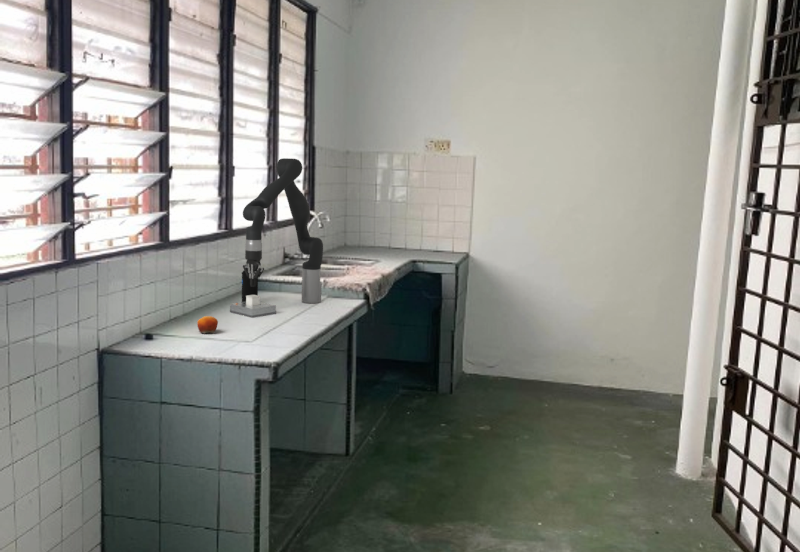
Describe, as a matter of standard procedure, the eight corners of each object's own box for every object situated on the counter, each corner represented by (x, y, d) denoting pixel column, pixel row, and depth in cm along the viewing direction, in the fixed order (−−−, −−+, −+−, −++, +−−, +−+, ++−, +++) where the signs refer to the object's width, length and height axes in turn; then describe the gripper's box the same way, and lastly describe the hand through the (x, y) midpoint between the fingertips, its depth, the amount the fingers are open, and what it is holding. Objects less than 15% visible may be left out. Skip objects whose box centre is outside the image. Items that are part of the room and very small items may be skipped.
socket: (253, 308, 346) (253, 299, 345) (275, 313, 336) (276, 304, 335) (229, 312, 335) (229, 302, 334) (252, 317, 325) (252, 307, 325)
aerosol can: (261, 304, 357) (262, 264, 354) (249, 306, 350) (250, 265, 347) (249, 302, 361) (249, 262, 358) (237, 304, 354) (237, 264, 351)
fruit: (200, 332, 287) (198, 314, 289) (197, 339, 293) (195, 320, 296) (221, 331, 290) (218, 313, 293) (217, 337, 297) (214, 319, 299)
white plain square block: (253, 309, 339) (253, 294, 338) (259, 310, 336) (259, 295, 335) (245, 310, 335) (246, 295, 334) (252, 312, 332) (252, 297, 331)
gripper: (269, 250, 330) (268, 287, 333) (250, 247, 338) (250, 283, 341) (256, 251, 324) (256, 289, 327) (237, 248, 332) (237, 285, 335)
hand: (253, 286), depth 334 cm, fingers closed
